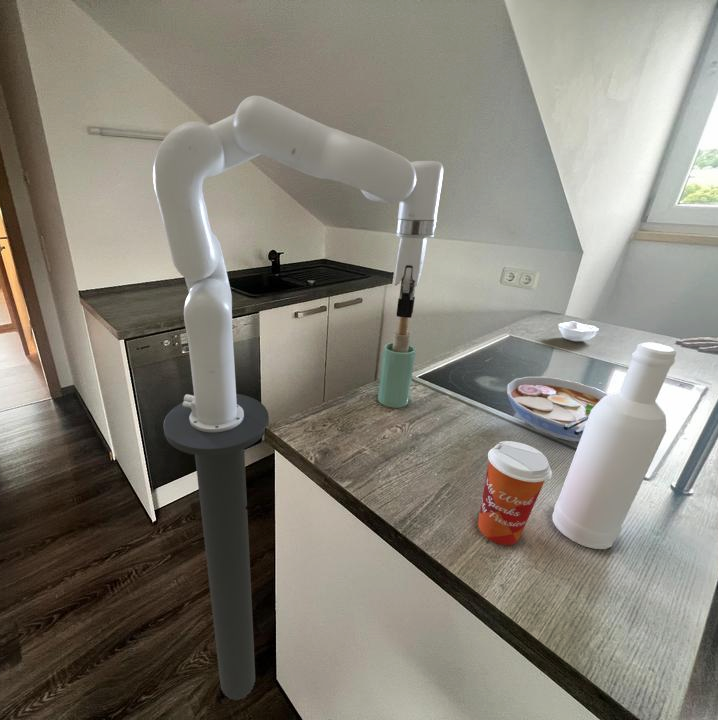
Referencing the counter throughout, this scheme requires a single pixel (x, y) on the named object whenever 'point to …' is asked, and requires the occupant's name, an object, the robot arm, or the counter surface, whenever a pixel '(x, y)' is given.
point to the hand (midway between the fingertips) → (404, 314)
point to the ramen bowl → (554, 404)
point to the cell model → (577, 331)
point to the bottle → (615, 452)
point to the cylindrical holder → (396, 376)
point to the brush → (402, 337)
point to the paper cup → (511, 490)
